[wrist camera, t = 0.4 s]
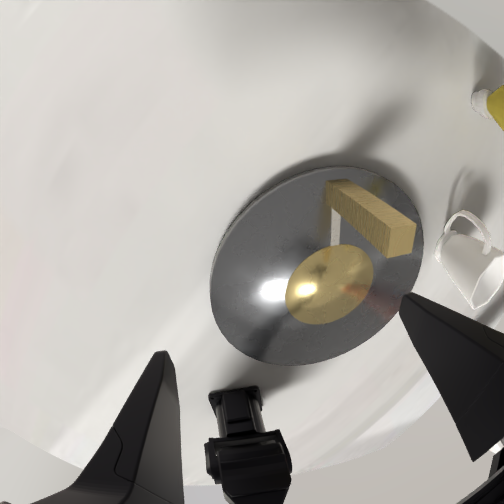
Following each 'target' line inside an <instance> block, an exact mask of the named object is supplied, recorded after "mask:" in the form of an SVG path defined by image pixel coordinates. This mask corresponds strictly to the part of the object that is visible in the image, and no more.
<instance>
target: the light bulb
mask: <svg viewBox="0 0 504 504" xmlns="http://www.w3.org/2000/svg"><path fill="white" fill-rule="evenodd" d="M471 103H472V107H473V109H474V110H475V111H476V112H479V113H480V115H481V116H482V117H485V118H488V119H493V118H494V119H495V121H496V122H497V123H498V125H499V126H500V127H501V128H502V130H503V131H504V85H503V86H501V87H500V88H498V89H497V90H496V91H495V92H492V91H490V90H486V89H481V90H480V91H479V92H474V93H473V94H472V97H471Z"/></svg>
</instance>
